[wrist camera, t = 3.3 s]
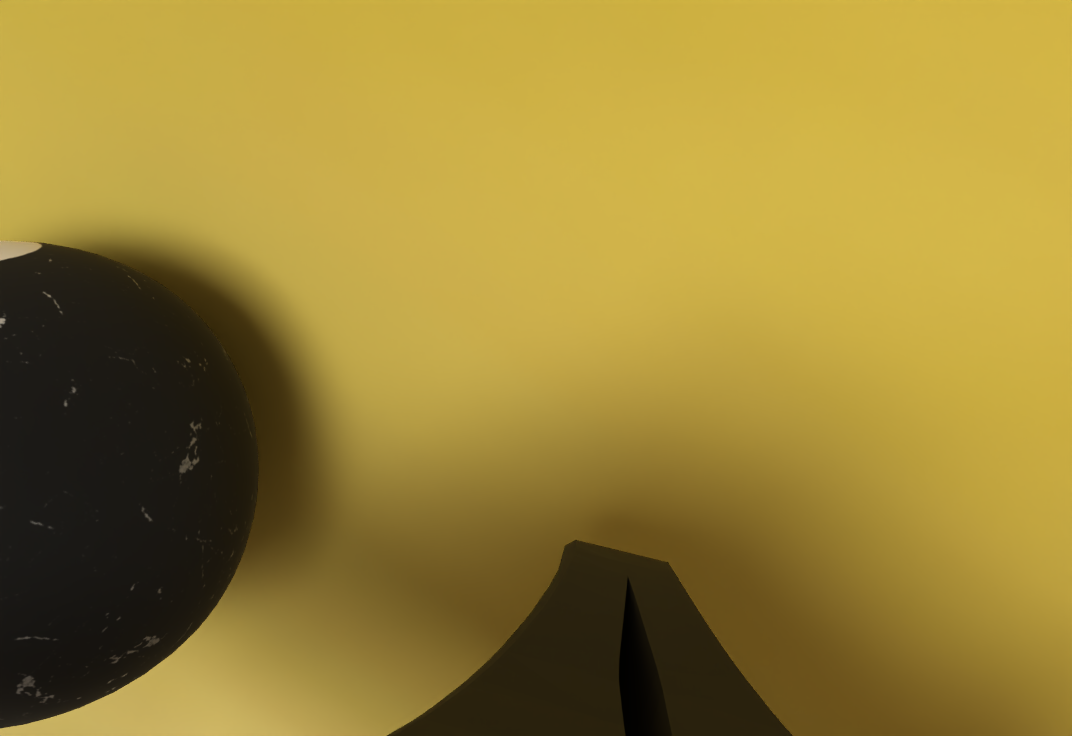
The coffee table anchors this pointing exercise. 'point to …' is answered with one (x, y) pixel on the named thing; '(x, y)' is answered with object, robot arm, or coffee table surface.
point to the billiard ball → (109, 476)
